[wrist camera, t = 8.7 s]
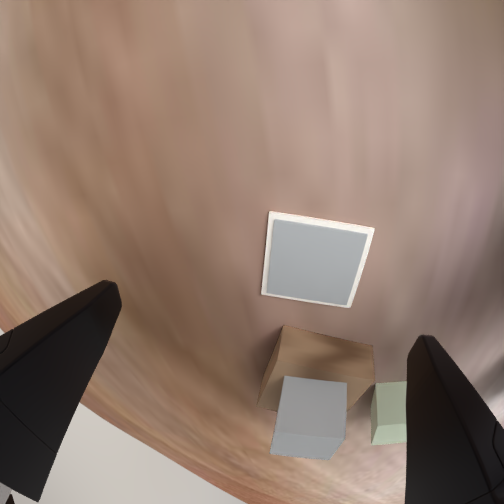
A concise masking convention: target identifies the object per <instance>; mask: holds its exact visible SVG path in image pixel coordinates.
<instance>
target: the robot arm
mask: <svg viewBox="0 0 504 504" xmlns="http://www.w3.org/2000/svg"><path fill="white" fill-rule="evenodd" d="M121 307H122V302H121V298H120V294H119V290H118V286H117V284H116V283H115V282H112V281H108V280H103V281H101V282H99V283H97V284H95V285H93V286H91V287H89V288H87V289H85V290H83V291H81V292H80V293H78V294H76V295H74V296H72V297H70V298H68V299H66V300H64V301H63V302H61V303H59V304H57V305H55V306H53V307H51V308H50V309H48V310H46V311H44V312H42V313H40V314H39V315H37V316H35V317H33V318H31V319H29V320H28V321H26V322H24V323H22V324H20V325H19V326H17V327H15V328H14V330H13V329H11V330H10V331H8V332H6V333H5V334H3V335H1V336H0V504H15V503H14V500H13V497H12V494H10V493H11V490H12V489H13V490H14V491H16V492H18V493H20V494H22V495H24V496H26V497H28V498H30V499H32V500H34V501H36V502H39V500H40V497H41V494H42V492H43V489H44V486H45V484H46V481H47V478H48V476H49V473H50V470H51V468H52V465H53V463H54V460H55V458H56V455H57V452H58V450H59V448H60V445H61V443H62V440H63V438H64V435H65V433H66V431H67V429H68V426H69V424H70V422H71V419H72V417H73V415H74V413H75V411H76V408H77V406H78V404H79V402H80V400H81V398H82V395H83V393H84V391H85V389H86V387H87V385H88V383H89V381H90V379H91V377H92V375H93V372H94V370H95V368H96V366H97V364H98V362H99V360H100V358H101V356H102V354H103V352H104V350H105V348H106V346H107V343H108V341H109V338H110V336H111V333H112V330H113V328H114V325H115V323H116V320H117V318H118V316H119V313H120V311H121ZM496 420H497V419H496V417H495V416H494V415H493V413H492V412H491V410H490V409H489V407H488V406H487V405H486V403H485V402H484V401H483V399H482V398H481V396H480V395H479V394H478V392H477V391H476V390H475V388H474V387H473V386H472V384H471V383H470V382H469V380H468V379H467V378H466V376H465V375H464V374H463V372H462V371H461V370H460V369H459V367H458V366H457V365H456V363H455V362H454V361H453V360H452V358H451V357H450V356H449V355H448V353H447V352H446V351H445V350H444V348H443V347H442V346H441V345H440V343H439V342H438V341H437V340H436V339H435V337H434V336H432V335H420V336H419V337H418V338H417V340H416V342H415V343H414V345H413V347H412V348H411V350H410V352H409V354H408V358H407V386H406V436H407V461H406V490H405V504H504V429H503V427H502V426H501V424H500V423H499V422H498V421H496Z"/></svg>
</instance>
